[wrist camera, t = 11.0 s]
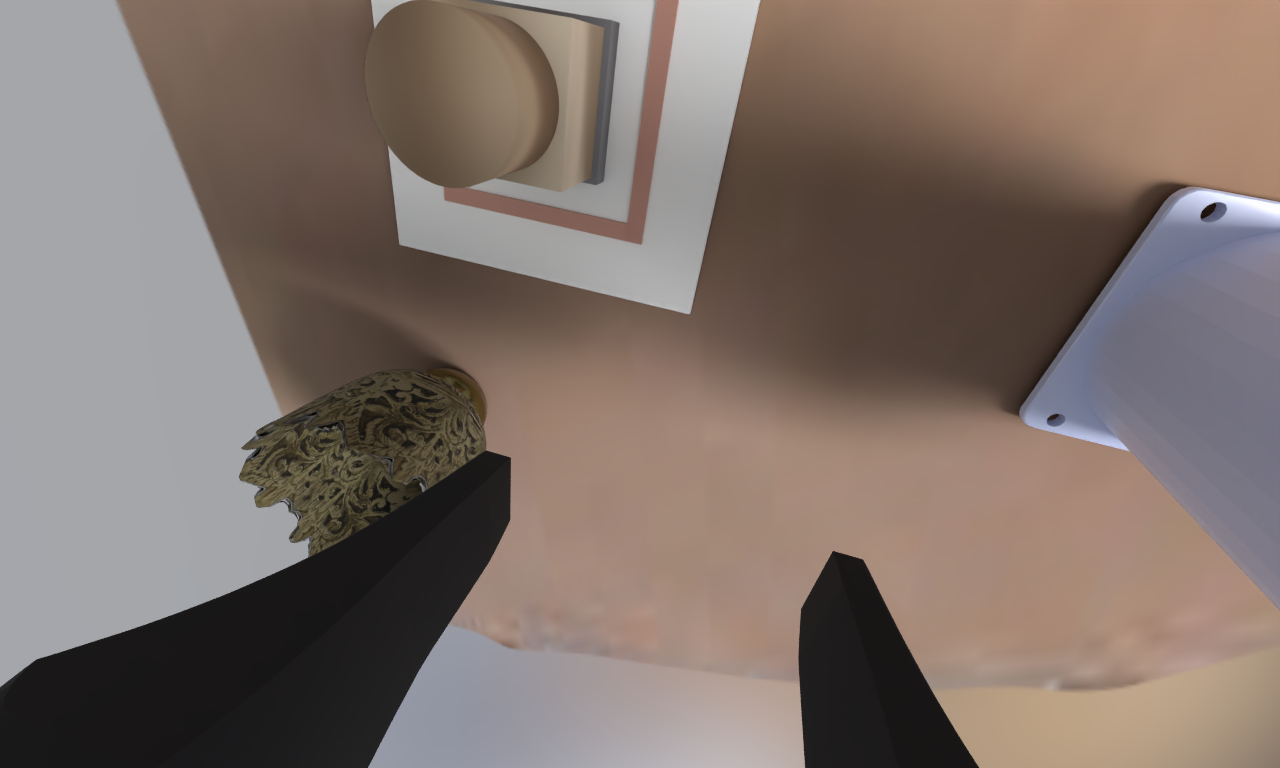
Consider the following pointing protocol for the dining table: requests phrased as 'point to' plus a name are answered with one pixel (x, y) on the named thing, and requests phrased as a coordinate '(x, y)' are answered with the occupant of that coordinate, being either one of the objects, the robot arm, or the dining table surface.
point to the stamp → (493, 92)
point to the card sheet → (612, 164)
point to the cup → (366, 450)
